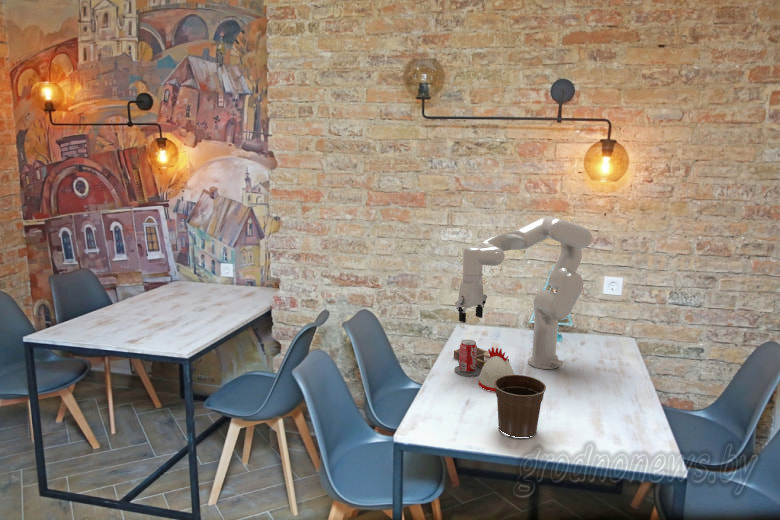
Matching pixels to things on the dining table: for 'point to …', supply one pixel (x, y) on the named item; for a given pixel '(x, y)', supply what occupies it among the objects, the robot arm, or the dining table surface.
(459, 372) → the coaster
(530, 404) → the plant pot
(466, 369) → the soda can
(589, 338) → the dining table surface
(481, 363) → the caddy
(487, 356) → the sugar jar
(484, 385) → the beige crested helmet
